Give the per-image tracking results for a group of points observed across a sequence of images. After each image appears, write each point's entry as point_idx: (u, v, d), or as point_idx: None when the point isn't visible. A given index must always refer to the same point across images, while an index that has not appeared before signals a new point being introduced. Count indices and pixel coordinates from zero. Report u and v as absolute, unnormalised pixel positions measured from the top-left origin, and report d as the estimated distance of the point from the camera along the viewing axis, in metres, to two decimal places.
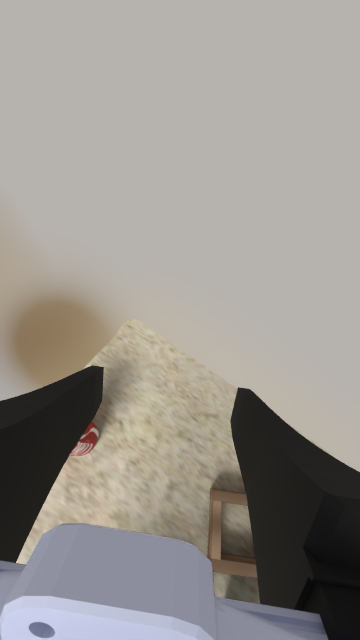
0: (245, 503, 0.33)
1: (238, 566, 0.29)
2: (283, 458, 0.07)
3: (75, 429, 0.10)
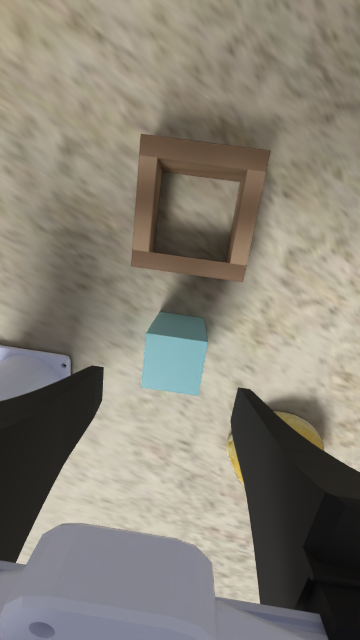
0: (210, 160, 0.15)
1: (180, 261, 0.17)
2: (283, 458, 0.07)
3: (75, 429, 0.10)
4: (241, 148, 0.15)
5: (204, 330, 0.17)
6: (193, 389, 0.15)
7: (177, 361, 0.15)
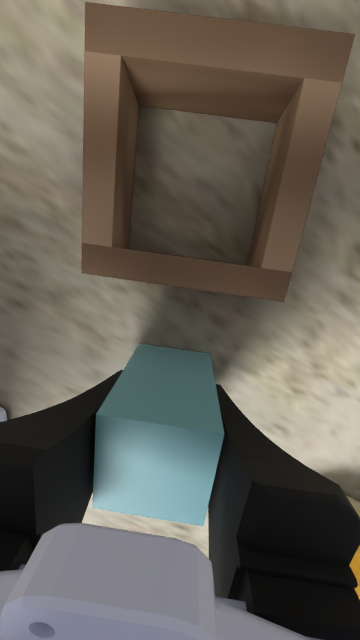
0: (228, 60, 0.07)
1: (169, 265, 0.09)
2: (230, 449, 0.07)
3: None
4: (293, 31, 0.07)
5: (214, 390, 0.09)
6: (194, 515, 0.08)
7: (162, 467, 0.07)
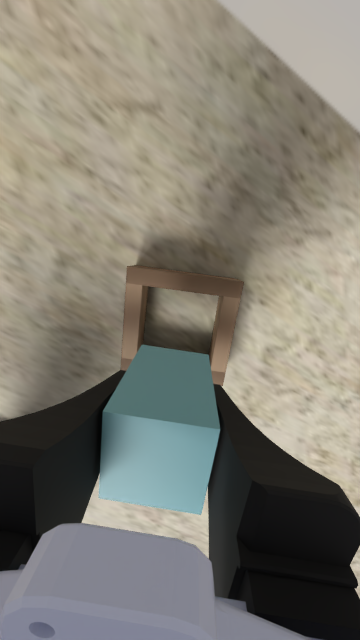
0: (190, 288, 0.16)
1: None
2: (231, 449, 0.07)
3: None
4: (218, 278, 0.16)
5: (211, 389, 0.10)
6: (192, 504, 0.09)
7: (163, 460, 0.08)
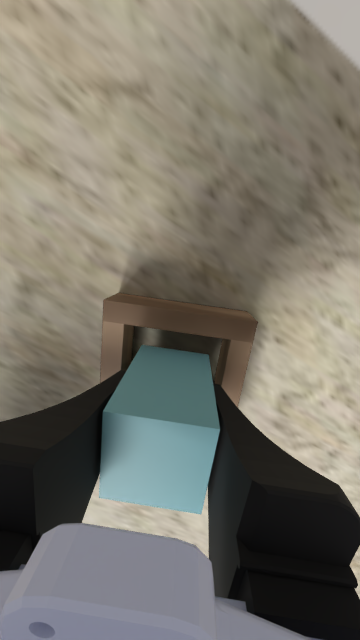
0: (186, 329, 0.12)
1: None
2: (231, 449, 0.07)
3: None
4: (223, 316, 0.12)
5: (211, 388, 0.10)
6: (192, 504, 0.09)
7: (163, 459, 0.08)
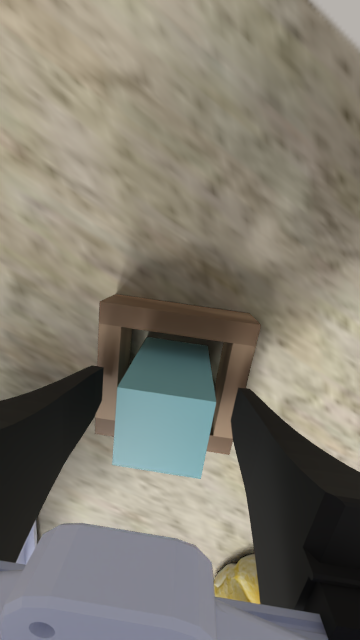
0: (186, 332, 0.12)
1: None
2: (283, 458, 0.07)
3: (75, 429, 0.10)
4: (225, 319, 0.12)
5: (209, 372, 0.11)
6: (193, 469, 0.10)
7: (168, 429, 0.09)
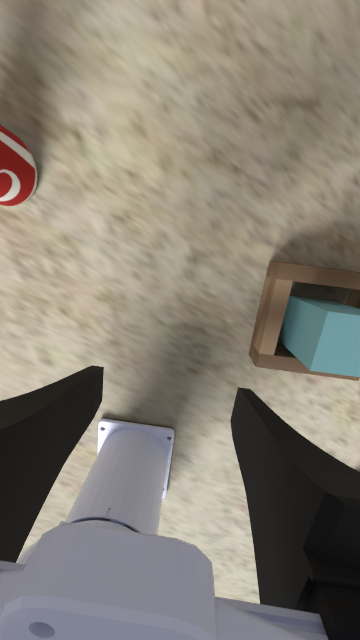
0: (341, 284, 0.16)
1: (302, 363, 0.18)
2: (283, 458, 0.07)
3: (75, 429, 0.10)
4: None
5: None
6: None
7: (356, 341, 0.14)
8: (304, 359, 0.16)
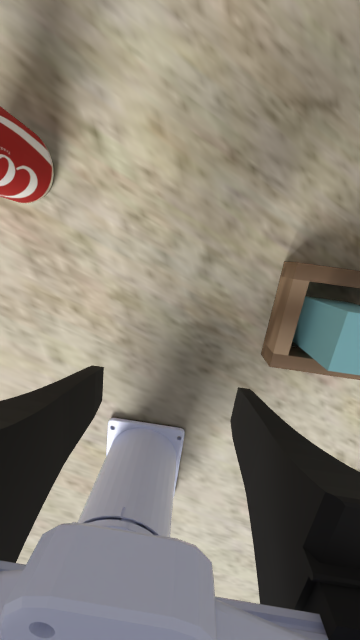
0: (358, 285, 0.16)
1: (316, 364, 0.18)
2: (283, 458, 0.07)
3: (75, 429, 0.10)
4: None
5: None
6: None
7: None
8: (321, 359, 0.15)
